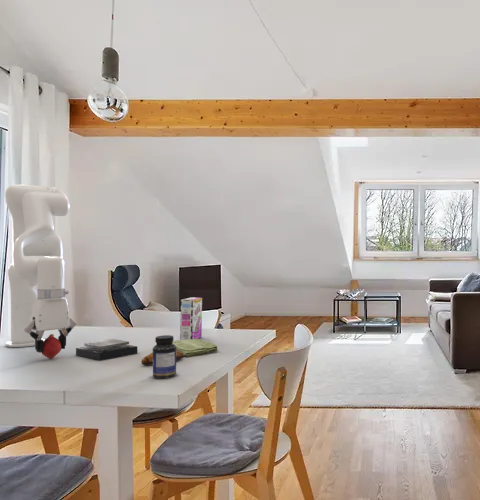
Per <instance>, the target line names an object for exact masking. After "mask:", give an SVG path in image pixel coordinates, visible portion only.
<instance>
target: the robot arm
mask: <svg viewBox="0 0 480 500" xmlns="http://www.w3.org/2000/svg"><path fill="white" fill-rule="evenodd" d="M4 194H5V195H4V196H5V202H6V203H5V204H6V206H7V209H8V212H9V214H10V218H11V222H12V223H11V224H12V263H11V264H10V265H9V266H8V269H7V274H8V275H7V276H8V281H9V287H10V306H11V307H10V341H7V342H6V343H5V347H9V348H25V347H34V349H35V351H36V352H37V353H40V354H42V352H43V341H44V340H45V339H46V338H43V336H44V333H45V331H47V332H48V331H53V330H54V331H55V330H57V331H58V333H59V335H58V337H57V339H58V340H59V341H60V343H61V346H62V347H61V350H65V349H66V346H67V337H68V336H69V334H70V332H72V330H73V329H74V328H75V327H76V326H77V323H76V322H75V321H74V320H73V319H72V318H71V317H70V309H69V304H68V299H67V297H66V295H69V293H70V292H69V289H68V290H67V289H66V287H65V284H66V282H65V278H66V277H65V275H66V273H65V272H66V271H65V270H66V269H65V268H66V265H65V259H64V254H63V253H64V251H63V241H62V237H61V236H60V235H59V234H58V233H56V232H55V225H54V220H53V218H54V217H66V216H67V215H68V214H69V212H70V207H71V205H70V200H69V197H68V196H67V194H66V193H65V192H64V191H63V190H61V189H60V188H59V187H54V186H44V185H34V184H21V183H20V184H11V185H9V186H8V187H6V189H5V193H4ZM35 286H36V288H35Z"/></svg>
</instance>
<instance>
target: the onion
mask: <svg viewBox="0 0 480 500" xmlns="http://www.w3.org/2000/svg"><path fill="white" fill-rule="evenodd" d="M44 339H45V340H44V341H43V352H42V353H41V355H43V357H45V358H47V359H49V360H52V359H54V358H55V357H56V356H58V354H59V353H61V351H62V349H61V347H62V346H61V343H60V341H59V340H58V337H55V334H53V333H51V334H49V335H48V336H47V337H46V338H44Z"/></svg>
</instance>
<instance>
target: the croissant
mask: <svg viewBox="0 0 480 500" xmlns="http://www.w3.org/2000/svg"><path fill="white" fill-rule="evenodd" d="M184 357H185V356H184V355H183V353H182V352H180V351H177V350H176V361H178V360H181V359H183V358H184ZM140 362H141V365H142V366H149V365H153V352H151V353H148V354H147V355H146V356H144V357H143V358H142V359H141V361H140Z"/></svg>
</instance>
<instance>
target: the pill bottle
mask: <svg viewBox="0 0 480 500" xmlns="http://www.w3.org/2000/svg"><path fill="white" fill-rule="evenodd" d="M173 341H175V340H174V335H171V334H167V335H166V334H165V335H158V336H155V343H156V344H155V345H154V346H153V347H152V353H153V364H152V377H153V378H154V379H162V380H163V379H170V378H174V377H175V376H176V375H177V360H176V346H175V345H174V344H173Z"/></svg>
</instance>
